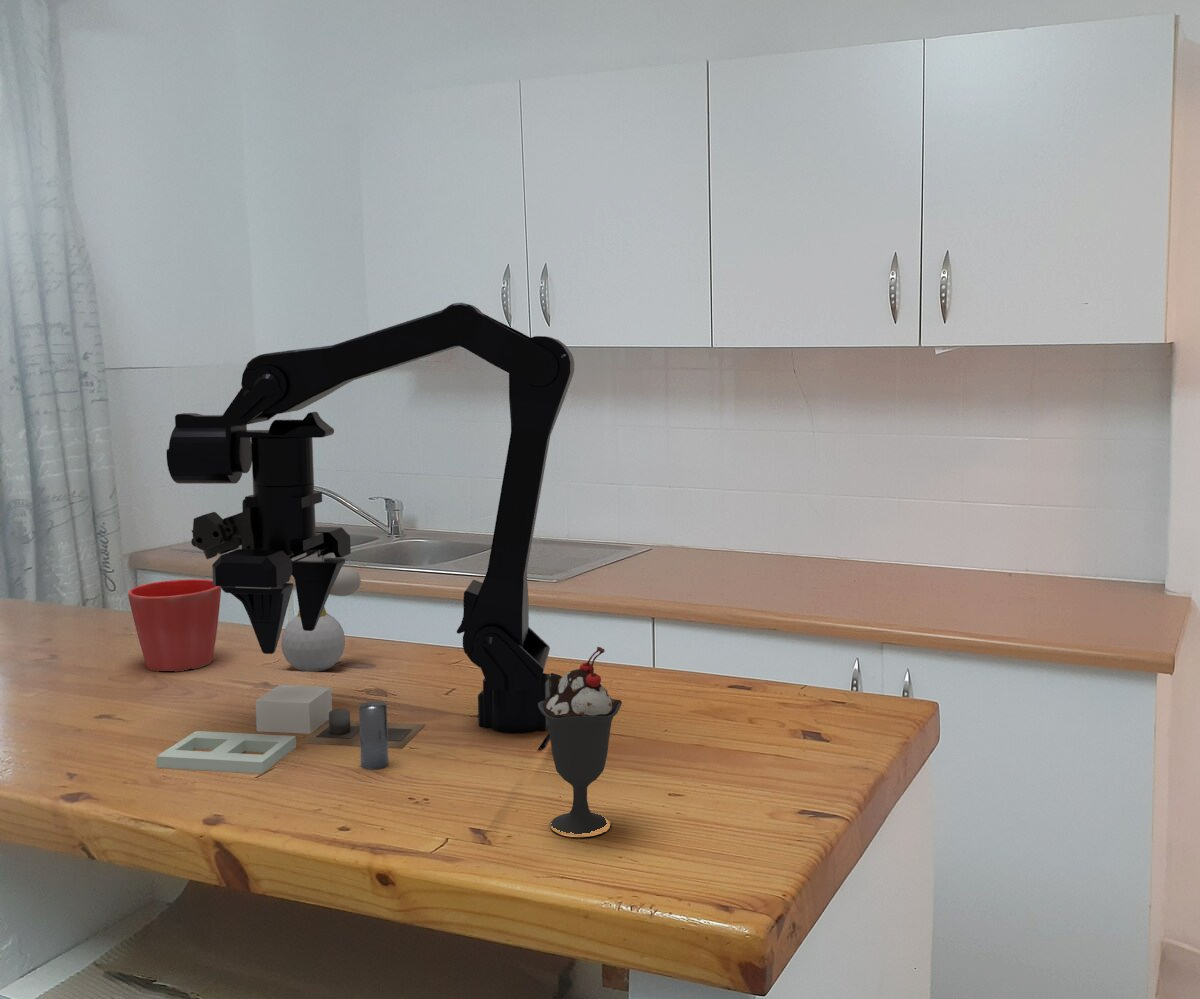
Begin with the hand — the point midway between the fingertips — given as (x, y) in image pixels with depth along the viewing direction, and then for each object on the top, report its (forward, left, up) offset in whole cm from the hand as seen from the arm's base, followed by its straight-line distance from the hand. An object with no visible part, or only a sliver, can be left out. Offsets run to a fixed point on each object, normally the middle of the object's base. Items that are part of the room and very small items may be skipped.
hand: (289, 641), depth 114 cm
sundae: (-32, +17, -10) cm, 38 cm away
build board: (+2, +10, -10) cm, 14 cm away
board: (-8, +2, -10) cm, 13 cm away
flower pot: (+26, -24, -10) cm, 37 cm away
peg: (-12, +10, -10) cm, 19 cm away
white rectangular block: (0, 0, -10) cm, 10 cm away
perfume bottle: (+8, -25, -10) cm, 28 cm away
